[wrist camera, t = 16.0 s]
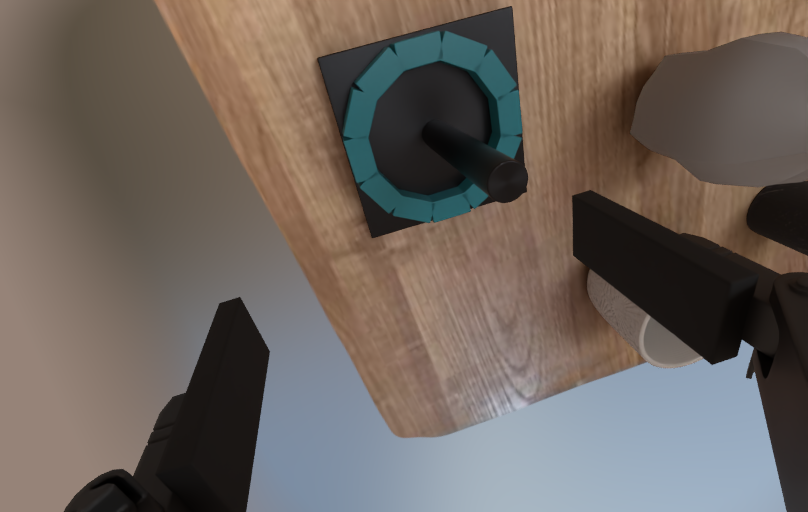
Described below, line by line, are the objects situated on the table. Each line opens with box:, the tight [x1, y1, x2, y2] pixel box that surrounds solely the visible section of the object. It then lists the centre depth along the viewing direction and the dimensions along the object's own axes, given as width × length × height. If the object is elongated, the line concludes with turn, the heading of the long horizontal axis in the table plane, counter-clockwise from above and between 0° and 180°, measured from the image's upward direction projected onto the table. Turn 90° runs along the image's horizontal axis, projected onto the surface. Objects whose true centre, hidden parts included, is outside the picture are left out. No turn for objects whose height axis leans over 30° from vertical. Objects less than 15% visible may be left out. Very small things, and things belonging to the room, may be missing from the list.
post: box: [317, 6, 528, 238], centre depth 28 cm, size 16×16×16 cm
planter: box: [587, 269, 703, 368], centre depth 43 cm, size 12×12×11 cm
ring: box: [342, 31, 522, 223], centre depth 33 cm, size 15×15×2 cm
